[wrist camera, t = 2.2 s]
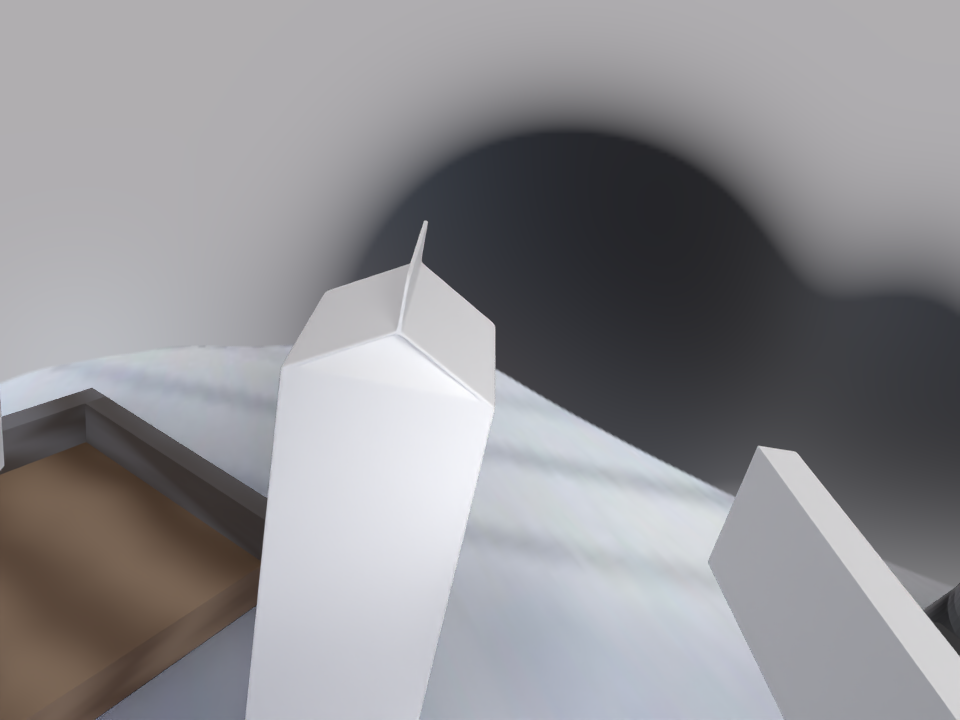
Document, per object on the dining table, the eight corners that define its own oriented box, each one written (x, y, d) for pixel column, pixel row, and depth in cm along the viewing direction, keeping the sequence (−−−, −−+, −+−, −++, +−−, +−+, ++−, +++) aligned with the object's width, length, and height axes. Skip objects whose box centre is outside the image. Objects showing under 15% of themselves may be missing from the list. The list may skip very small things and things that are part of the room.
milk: (234, 811, 28) (283, 255, 19) (276, 679, 34) (330, 198, 24) (395, 833, 29) (521, 301, 19) (411, 700, 34) (515, 234, 25)
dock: (93, 461, 44) (92, 387, 42) (278, 589, 38) (287, 511, 36) (-266, 607, 31) (-294, 511, 29) (-71, 836, 25) (-89, 736, 23)
